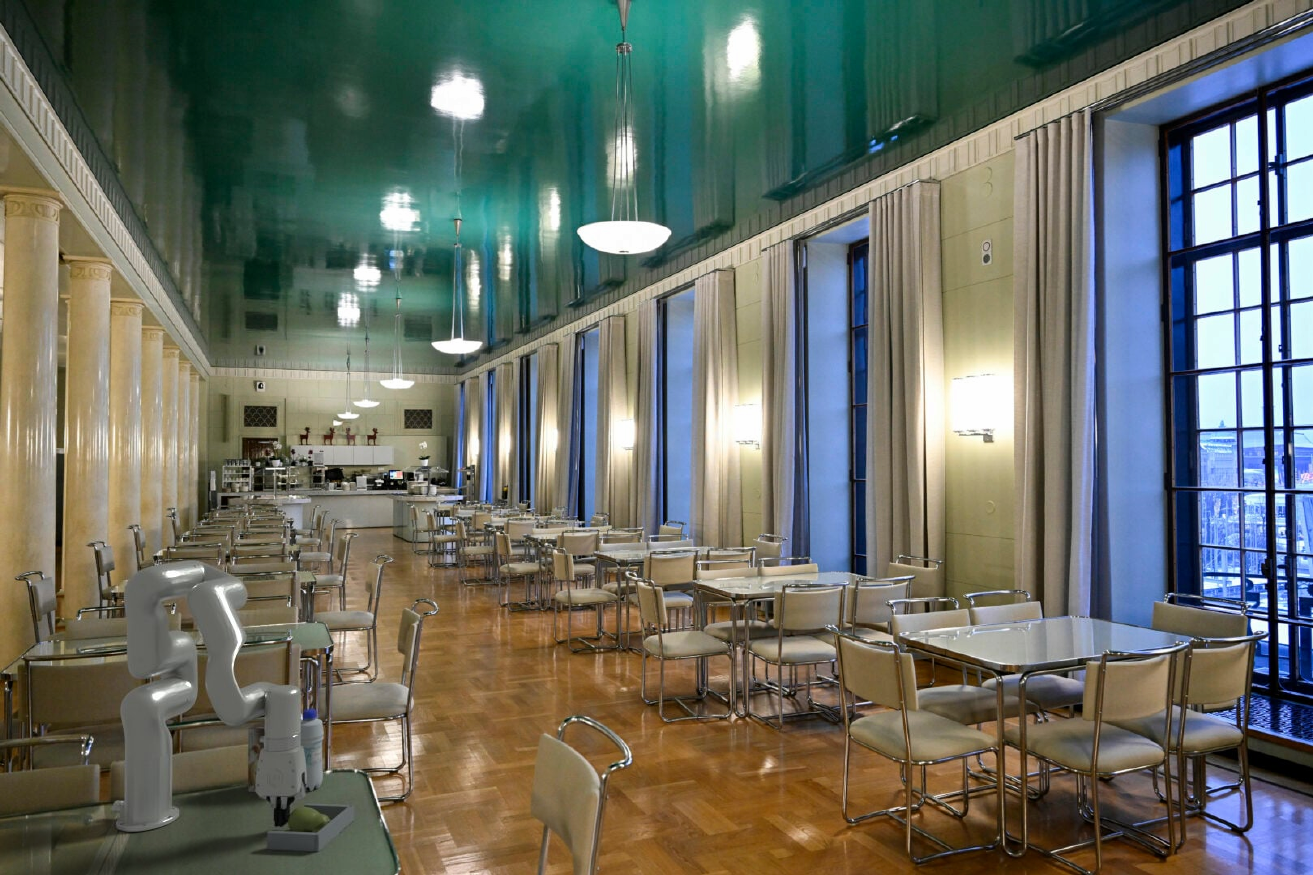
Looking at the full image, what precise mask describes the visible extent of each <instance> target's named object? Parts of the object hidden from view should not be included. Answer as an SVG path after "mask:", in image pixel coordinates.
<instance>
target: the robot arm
mask: <svg viewBox="0 0 1313 875" xmlns="http://www.w3.org/2000/svg"><path fill="white" fill-rule="evenodd" d="M248 596H249V595H248V590H247V587H246V585H245V584H244V582H243V581H241V580H240V579H239V578H237V577H236V576H234V575H233V574H230V573H229V572H225V571H224V570H222V569H219V568H217V567H215V566H212V565H210V564H208V563H205V562H203V561H200V560H194V559H192V560H182V561H176V562H167V563H162V564H161V563H160V564H155V565H151V566H148V567H144V568H142V569H140V570H138V571H137V572H135V573H134V574H133V575H132V576H131V577H130V578H129V579H128V581H127V583H126V585H125V587H124V591H123V604H124V610H125V616H126V652H127V653H126V658H127V659H126V661H127V668H128V671H129V673H130V675H131V676H132V677H133V678H135V679H139V680H146V679H151V678H155V677H159V676H160V679H159V680H154V681H151V682H148V683H145V684H142V685H139V686H137V687H135V688H134V689H132V690H130V691H129V692H128V693H127V694H126V695H125V696H124V698H123V699H122V700H121V704H120V708H119V709H120V710H119V711H120V713H119V714H120V718H121V721H122V728H123V732H124V797H123V798H124V800H118V799H117V800H115V801H114V802H113V805H112V806H111V808H110V813H112V814H113V813H114V814H118V813H119V818H117V820H116V822H115V826H116V827H115V828H116V829H118V830H119V831H121V830H122V831H121V832H127V833H129V832H130V833H137V832H143V831H149V830H150V831H151V830H154V829H158V828H162V827H164V826H166V825H169V824H171V823H173V822H174V821H176V820H177V819H178V818H179V817H180V809H179V808H178V807H176V806H174V805H173V738H172V734H171V732H170V730H169V728H168V726H167V724H166V722H167V720H169V719H170V720H171V719H173V718H174V717H178V716H180V715H182V714H184V713H186V712H188V711H189V710H190V709H191V708H192V707H193V706H194V705H195V703H196V700H197V697H198V690H199V688H198V686H199V685H198V684H199V679H198V676H199V674H198V650H197V646H196V643H195V641H194V638H192V636H191V635H190V634H189V633H187V632H185V631H182V630H178V629H177V630H176V629H175V630H170V625H169V624H170V617H169V614H168V611H167V609H166V607H165V606H164V604H162V603H163V602H165V601H169V600H173V599H179V598H183V597H186V604H187V607H188V610H189V612H190V614H191V617H192V619H193V621H194V623H195V626H196V628H197V630H198V632H199V635H200V637H201V639H202V641H203V644H204V646H205V648H206V650H207V653H208V654H207V655H208V658H207V662H206V668H205V689H206V694H207V697H208V698H209V700H210V704H211V705H212V708H213V709H214V712H215V713H216V716H217V717H218V718H219V720H220V721H221V722H222V723H223V724H225V725H227V726H230V727H231V726H232V727H237V726H241V725H243V724H246V723H249V722H250V721H253V720H255V719H257V718H260V717H263V716H264V721H265V735H264V736H261V737H260V742H263V743H264V748H263V749H261V751H260V755H259V760H258V765H257V773H256V792H255V793H256V794H257V795H258V797H259V798H261V799H263V800H266V801H268V803H269V804H270V808H271V809H273V823H274V824H273V826H274V827H275V828H277V827H279V828H282V827H284V826H285V825H287V824H288V818H289V816H290V814H291V805H292V804H293V803H294V802H295V801H299V800H304V798H305V797H306V795H307V794H306V791H305V788H306V784H307V771H306V760H305V754H304V749H303V746H300V745H301V744H300V741H301V721H302V719H301V718H302V692H301V689H300V687H298V686H297V685H294V684H293V685H292V684H282V685H278V684H275V683H271V682H267V681H258V682H254V683H252V684H249V685H247V686H244V687H241V688H240V687H239V685H238V682H237V680H236V677H235V672H234V671H235V670H234V668H235V666H234V664H235V659H236V656H237V654H238V653H239V652H240V650H241V648H242V646H244V644H245V643H246V641H247V639H248V637H247V636H248V635H247V633H246V631H245V629H244V626H243V624H242V622H241V620H240V617H239V616H238V614H237V611H239V610H240V609H242V608H244V606H245V605H246V603H247V601H248ZM306 789H307V788H306Z"/></svg>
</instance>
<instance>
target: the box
mask: <svg viewBox="0 0 1313 875" xmlns="http://www.w3.org/2000/svg"><path fill="white" fill-rule="evenodd" d="M303 807H309V808H312V809H315V810H316V811H318V812H319V813H320V814H324V815H326V816H328V817H329V819H330V820H332V821H330V822H329V823H328V824H327V825H326V826H324V827H323V828H322V829H321V830H320V831H318V832H317V833H312V831H305V832H293V831H287V830H286V831H284V830H283V831H282V830H269V831H267V832H266V834H267V835H266V850H278V851H296V852H297V851H298V852H317V853H318V852H319V853H320V851H322V850H323V848H325V847H326V846H327V845H329V843H330V842H332V841H333V840H334V839H335V838H336V837H337V836H338V835H339V834H341V833H342V832H343V831H344V830H345V829H346V828H347V827H349V826H350V825H351V824H352V823H353V822H354V821H355V804H334V803H333V804H332V803H331V804H329V803H309V802H307V803H305V804H304V805H303ZM353 820H354V821H353ZM352 821H353V822H352ZM351 822H352V823H351ZM350 823H351V824H350ZM349 824H350V825H349ZM348 825H349V826H348ZM346 826H347V827H346ZM345 827H346V828H345ZM344 828H345V829H344ZM343 829H344V830H343ZM342 830H343V831H342ZM341 831H342V832H341ZM340 832H341V833H340Z"/></svg>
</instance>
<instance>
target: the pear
mask: <svg viewBox="0 0 1313 875" xmlns="http://www.w3.org/2000/svg"><path fill="white" fill-rule="evenodd" d="M330 821H332V820H330V819H329V817H328V816H326V815H324V814H320V813H319V812H318V811H316V810H315V809H312V808H309V807H304V806H299V807H297V808H294V809H292V811H290V816H289V818H288V823H287V826H288V828H289V830H290V832H311V833H317V832H318V831H320V830H321V829H322V828H323V827H324V826H326V825H327V824H328V823H329V822H330Z"/></svg>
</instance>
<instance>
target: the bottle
mask: <svg viewBox="0 0 1313 875" xmlns="http://www.w3.org/2000/svg"><path fill="white" fill-rule="evenodd" d="M317 717H318V713H317V710H316V708H315V709H314V708H307V709H305V710H304V711H303V712H302V719H301V741H300V744H301V745H300V746H303V749H304V754H305V760H306V771H307V784H306V788H305V792H306V791H307V788H309V791H310V792H313V791H314V789H315V790H318V789H319V788H320V787H321V785H322V783H323V778H324V774H323V773H324V772H323V740H324V738H325V737H324V734H325V731H324V726H323V721H322V720H321V719H319V718H317Z"/></svg>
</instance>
